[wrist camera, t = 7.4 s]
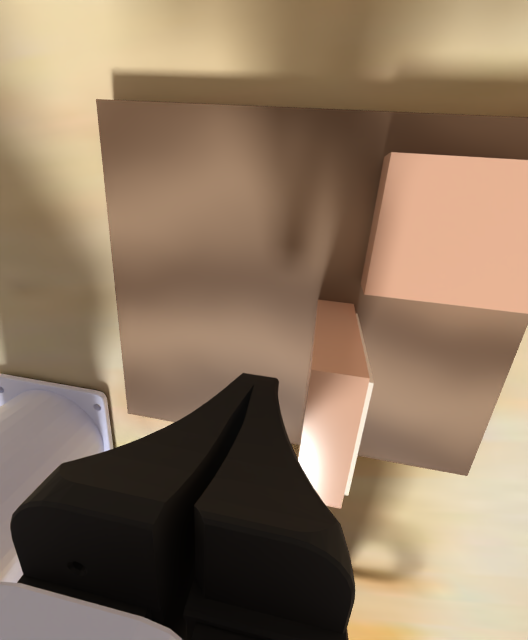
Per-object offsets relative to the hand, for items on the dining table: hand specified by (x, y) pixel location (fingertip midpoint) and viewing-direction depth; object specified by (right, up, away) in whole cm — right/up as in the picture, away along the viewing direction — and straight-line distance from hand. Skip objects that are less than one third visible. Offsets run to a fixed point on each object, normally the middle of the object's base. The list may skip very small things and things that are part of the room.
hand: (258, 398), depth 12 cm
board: (+2, +4, +5) cm, 6 cm away
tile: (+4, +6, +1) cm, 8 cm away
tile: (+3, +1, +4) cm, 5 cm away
